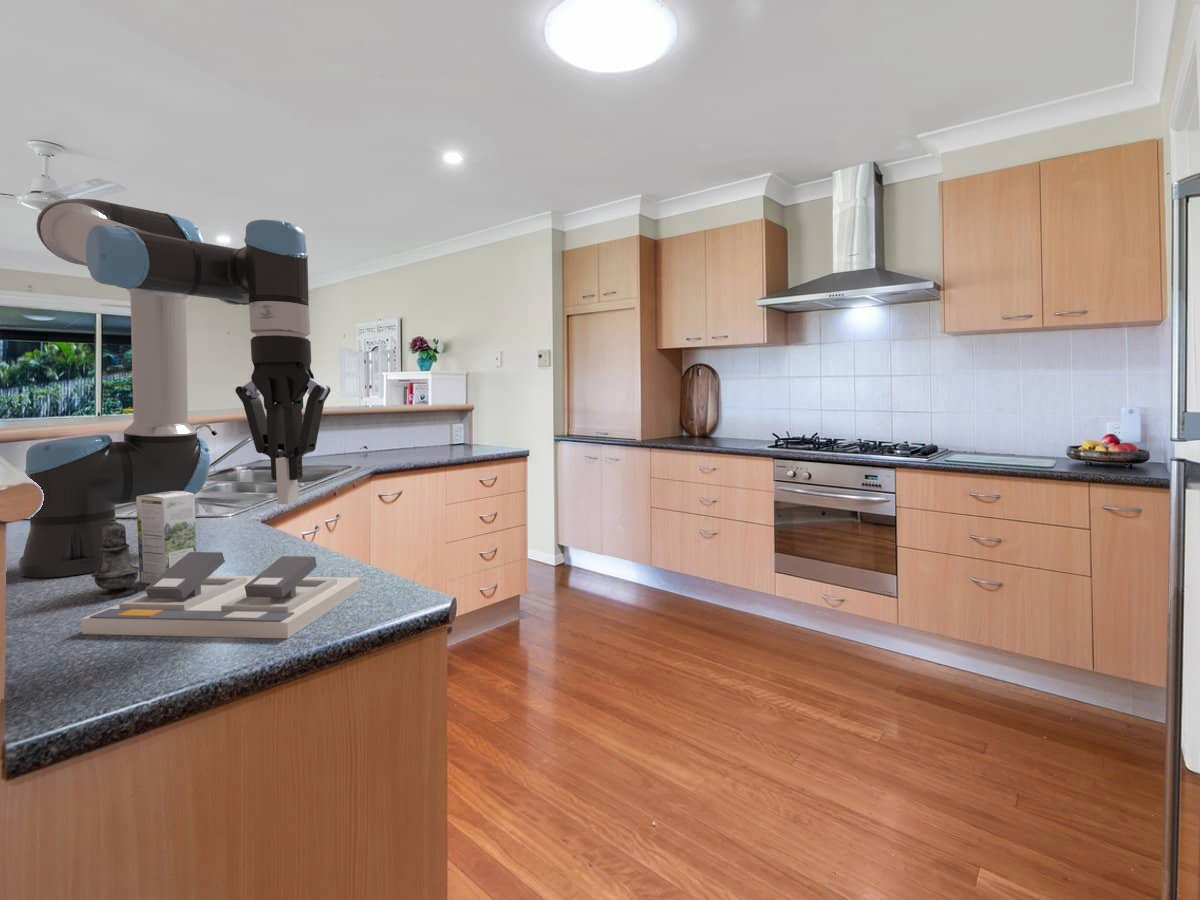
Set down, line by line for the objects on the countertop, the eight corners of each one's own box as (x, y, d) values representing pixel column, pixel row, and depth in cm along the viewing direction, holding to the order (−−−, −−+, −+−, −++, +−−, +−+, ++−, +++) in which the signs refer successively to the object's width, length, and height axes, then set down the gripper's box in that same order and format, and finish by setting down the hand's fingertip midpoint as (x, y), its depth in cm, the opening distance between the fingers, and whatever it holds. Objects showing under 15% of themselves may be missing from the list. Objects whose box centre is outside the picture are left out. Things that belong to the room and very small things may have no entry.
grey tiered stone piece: (114, 601, 91) (110, 521, 90) (82, 599, 93) (77, 519, 92) (151, 590, 97) (146, 514, 96) (120, 587, 98) (115, 513, 97)
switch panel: (195, 587, 98) (194, 565, 98) (360, 590, 96) (360, 567, 96) (82, 633, 78) (80, 606, 78) (288, 638, 76) (286, 610, 76)
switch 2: (283, 566, 91) (282, 555, 91) (316, 566, 91) (315, 555, 90) (246, 596, 83) (244, 585, 82) (282, 597, 82) (280, 586, 82)
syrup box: (171, 574, 106) (167, 490, 105) (199, 576, 105) (194, 491, 104) (139, 583, 101) (134, 495, 100) (167, 586, 99) (162, 496, 98)
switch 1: (192, 561, 92) (189, 551, 91) (225, 561, 92) (221, 551, 91) (148, 598, 84) (144, 587, 83) (183, 598, 83) (180, 588, 83)
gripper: (218, 334, 84) (227, 506, 85) (310, 332, 83) (318, 507, 84) (253, 340, 91) (261, 499, 93) (338, 338, 90) (345, 499, 92)
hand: (288, 502), depth 89 cm, fingers closed
